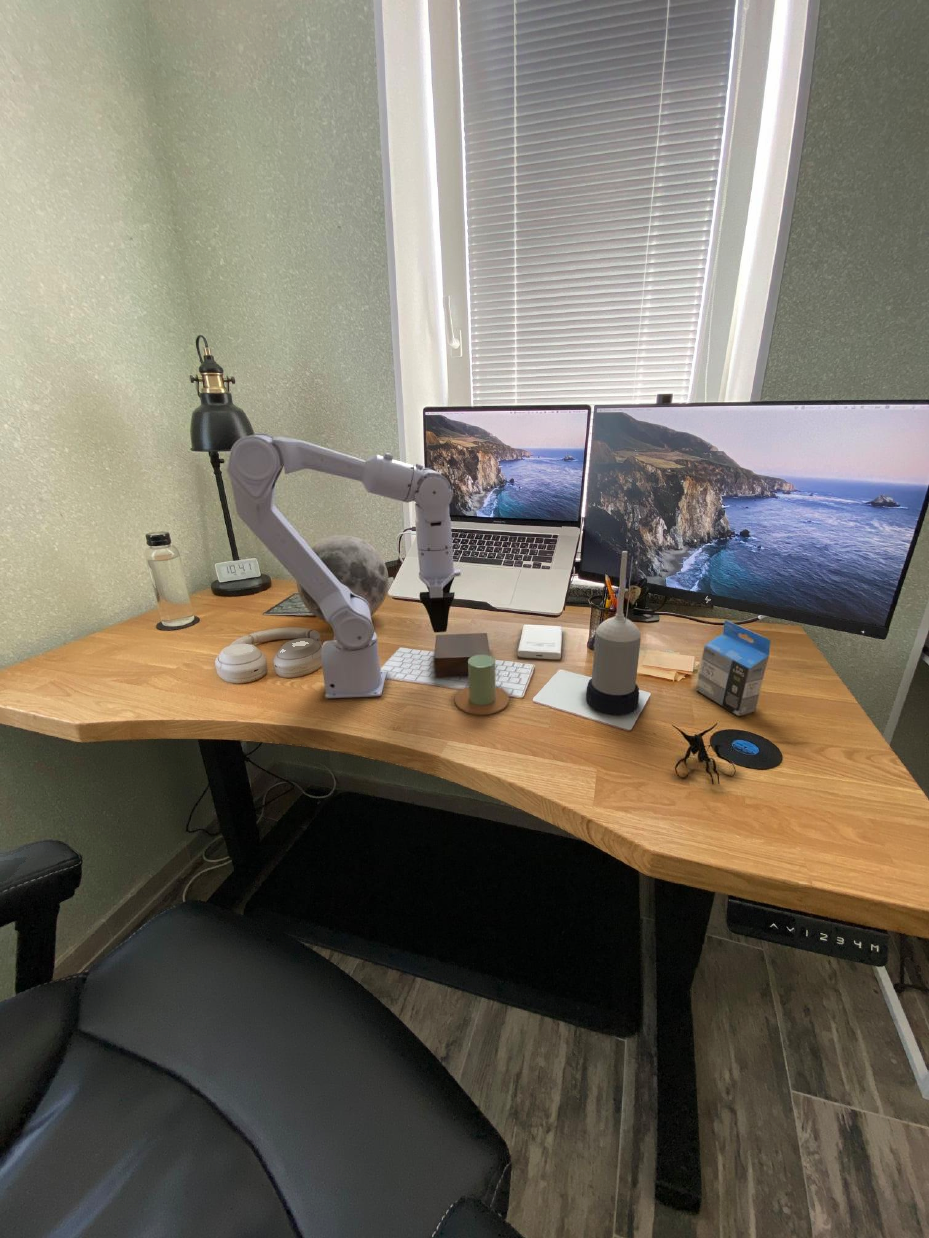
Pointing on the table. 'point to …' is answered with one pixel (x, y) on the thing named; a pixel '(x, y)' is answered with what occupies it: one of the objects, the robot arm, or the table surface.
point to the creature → (700, 752)
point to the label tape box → (734, 669)
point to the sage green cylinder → (481, 679)
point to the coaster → (471, 708)
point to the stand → (458, 653)
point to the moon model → (351, 570)
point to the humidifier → (615, 660)
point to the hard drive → (540, 642)
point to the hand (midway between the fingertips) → (440, 622)
